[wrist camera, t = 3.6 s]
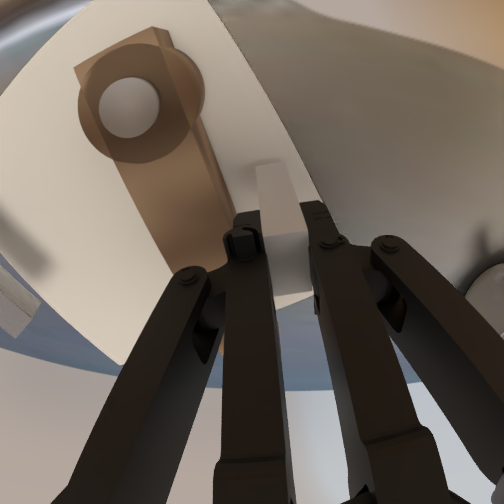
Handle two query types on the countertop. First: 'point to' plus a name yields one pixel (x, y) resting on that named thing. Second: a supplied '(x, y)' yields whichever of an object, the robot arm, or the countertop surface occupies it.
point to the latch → (159, 144)
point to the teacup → (489, 297)
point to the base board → (107, 176)
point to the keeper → (15, 304)
